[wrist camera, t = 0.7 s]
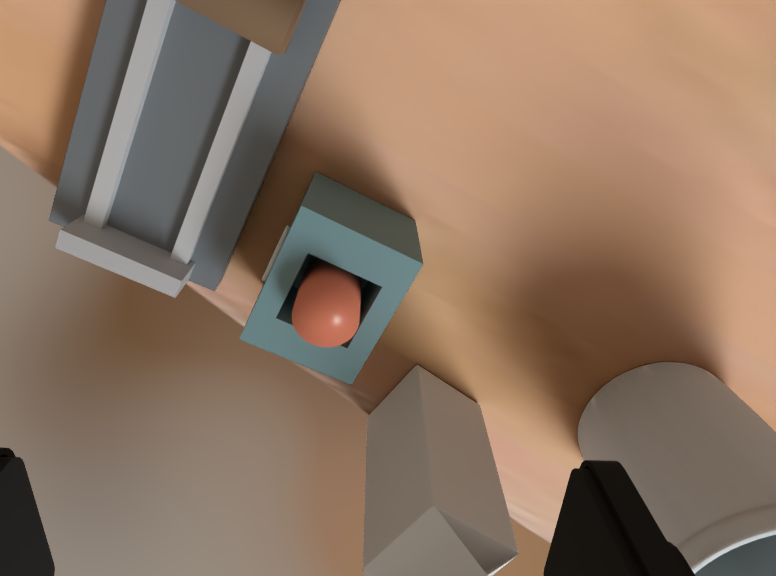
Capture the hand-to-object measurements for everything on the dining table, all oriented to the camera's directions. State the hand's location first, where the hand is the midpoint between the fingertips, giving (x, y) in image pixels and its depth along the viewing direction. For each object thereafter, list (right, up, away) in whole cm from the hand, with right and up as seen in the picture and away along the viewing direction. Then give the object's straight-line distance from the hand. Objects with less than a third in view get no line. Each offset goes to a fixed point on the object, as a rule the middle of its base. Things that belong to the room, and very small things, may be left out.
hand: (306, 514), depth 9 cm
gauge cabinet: (-2, +7, +32) cm, 32 cm away
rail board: (-10, +18, +26) cm, 33 cm away
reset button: (-2, +4, +27) cm, 27 cm away
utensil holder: (+25, -8, +39) cm, 47 cm away
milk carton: (+4, -7, +38) cm, 39 cm away
